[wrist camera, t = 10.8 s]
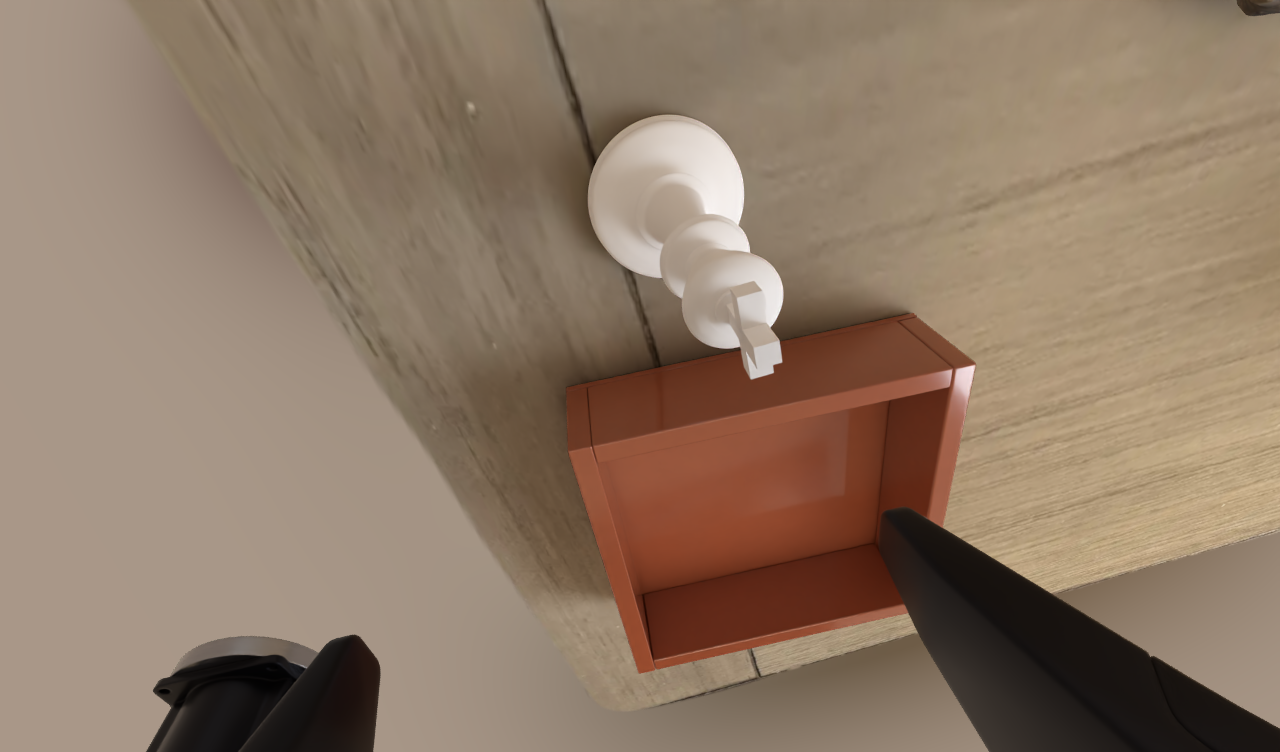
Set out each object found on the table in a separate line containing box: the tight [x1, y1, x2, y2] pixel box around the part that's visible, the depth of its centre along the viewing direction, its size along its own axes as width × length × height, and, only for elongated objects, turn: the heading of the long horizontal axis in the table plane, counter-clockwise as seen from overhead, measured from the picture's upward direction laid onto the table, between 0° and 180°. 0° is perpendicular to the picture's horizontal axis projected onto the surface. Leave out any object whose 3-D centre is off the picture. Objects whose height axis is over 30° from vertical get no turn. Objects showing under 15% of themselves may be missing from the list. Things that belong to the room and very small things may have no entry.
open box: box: [566, 313, 976, 674], centre depth 23 cm, size 14×14×4 cm
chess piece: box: [588, 115, 783, 379], centre depth 13 cm, size 5×5×10 cm
